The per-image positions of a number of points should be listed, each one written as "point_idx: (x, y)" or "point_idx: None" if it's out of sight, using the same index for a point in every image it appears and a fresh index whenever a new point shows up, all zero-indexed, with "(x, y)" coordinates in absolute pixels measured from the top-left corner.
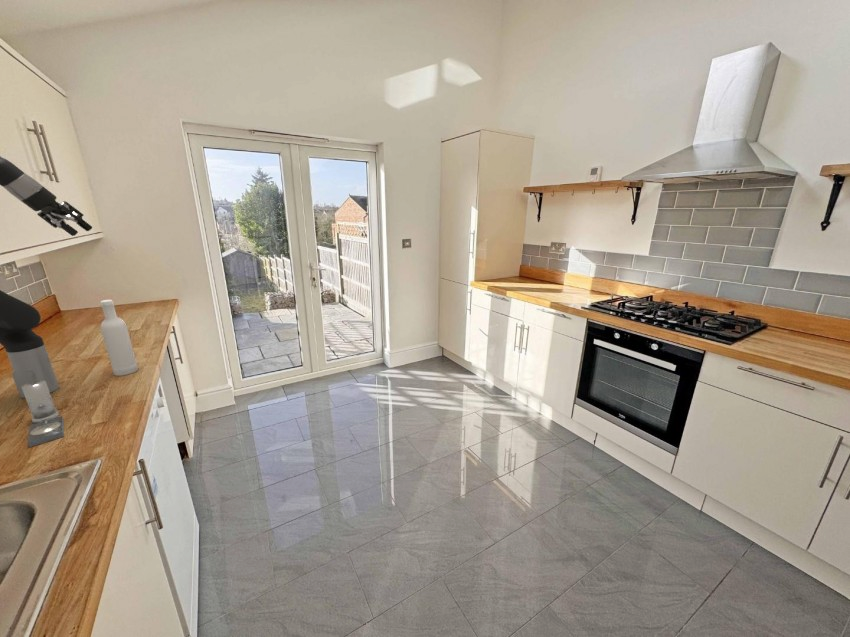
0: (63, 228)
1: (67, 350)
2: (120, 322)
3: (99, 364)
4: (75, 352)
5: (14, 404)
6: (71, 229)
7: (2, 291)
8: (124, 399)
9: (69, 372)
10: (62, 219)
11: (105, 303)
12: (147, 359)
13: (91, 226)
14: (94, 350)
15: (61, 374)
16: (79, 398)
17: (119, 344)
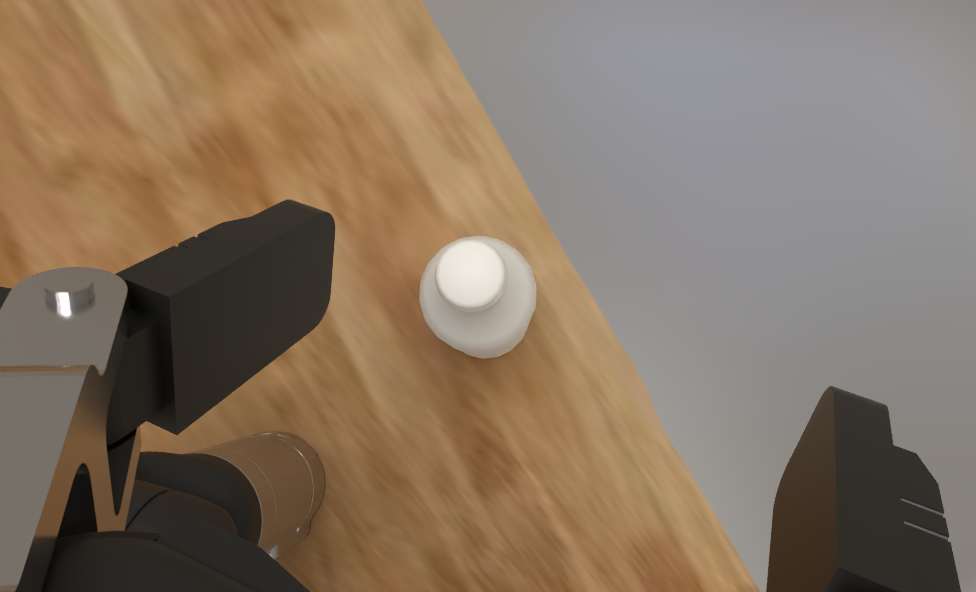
0: (187, 426)
1: (7, 42)
2: (529, 297)
3: None
4: (68, 71)
5: None
6: (265, 292)
7: None
8: (666, 576)
9: None
10: (98, 431)
11: (484, 304)
12: (483, 181)
13: (886, 414)
14: (141, 51)
15: None
16: (478, 553)
17: (516, 340)
